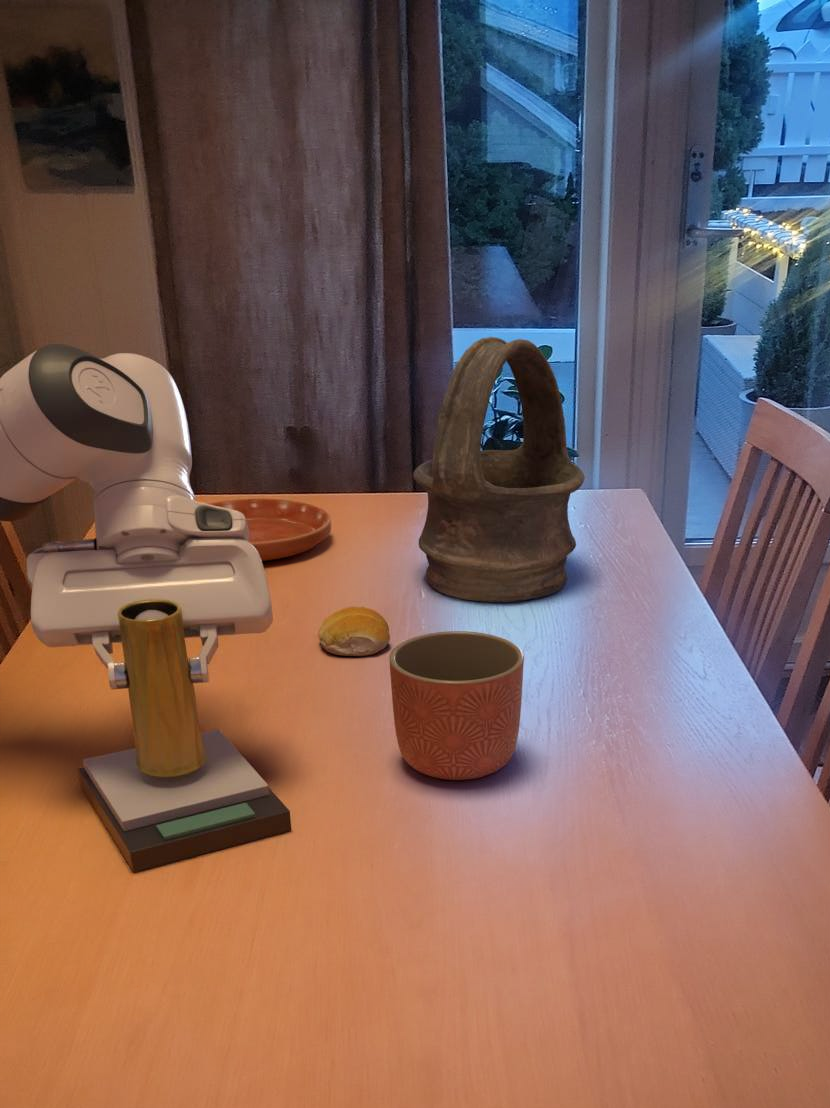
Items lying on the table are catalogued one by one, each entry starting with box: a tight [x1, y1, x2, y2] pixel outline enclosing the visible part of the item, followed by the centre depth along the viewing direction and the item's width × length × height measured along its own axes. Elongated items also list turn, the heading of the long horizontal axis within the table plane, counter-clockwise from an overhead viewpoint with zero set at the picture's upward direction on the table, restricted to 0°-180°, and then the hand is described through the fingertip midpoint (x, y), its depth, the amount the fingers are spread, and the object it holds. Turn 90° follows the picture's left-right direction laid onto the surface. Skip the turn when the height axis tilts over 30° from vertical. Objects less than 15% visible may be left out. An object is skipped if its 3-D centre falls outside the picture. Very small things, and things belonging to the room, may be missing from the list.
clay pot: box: [413, 336, 586, 603], centre depth 156 cm, size 22×23×30 cm
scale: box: [77, 729, 292, 873], centre depth 110 cm, size 14×17×3 cm
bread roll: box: [317, 606, 391, 657], centre depth 143 cm, size 8×9×4 cm
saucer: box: [206, 498, 332, 562], centre depth 175 cm, size 23×23×4 cm
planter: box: [388, 630, 525, 781], centre depth 116 cm, size 12×12×11 cm
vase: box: [118, 599, 207, 777], centre depth 106 cm, size 6×6×14 cm
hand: (160, 683), depth 105 cm, fingers closed on vase, 5 cm apart
